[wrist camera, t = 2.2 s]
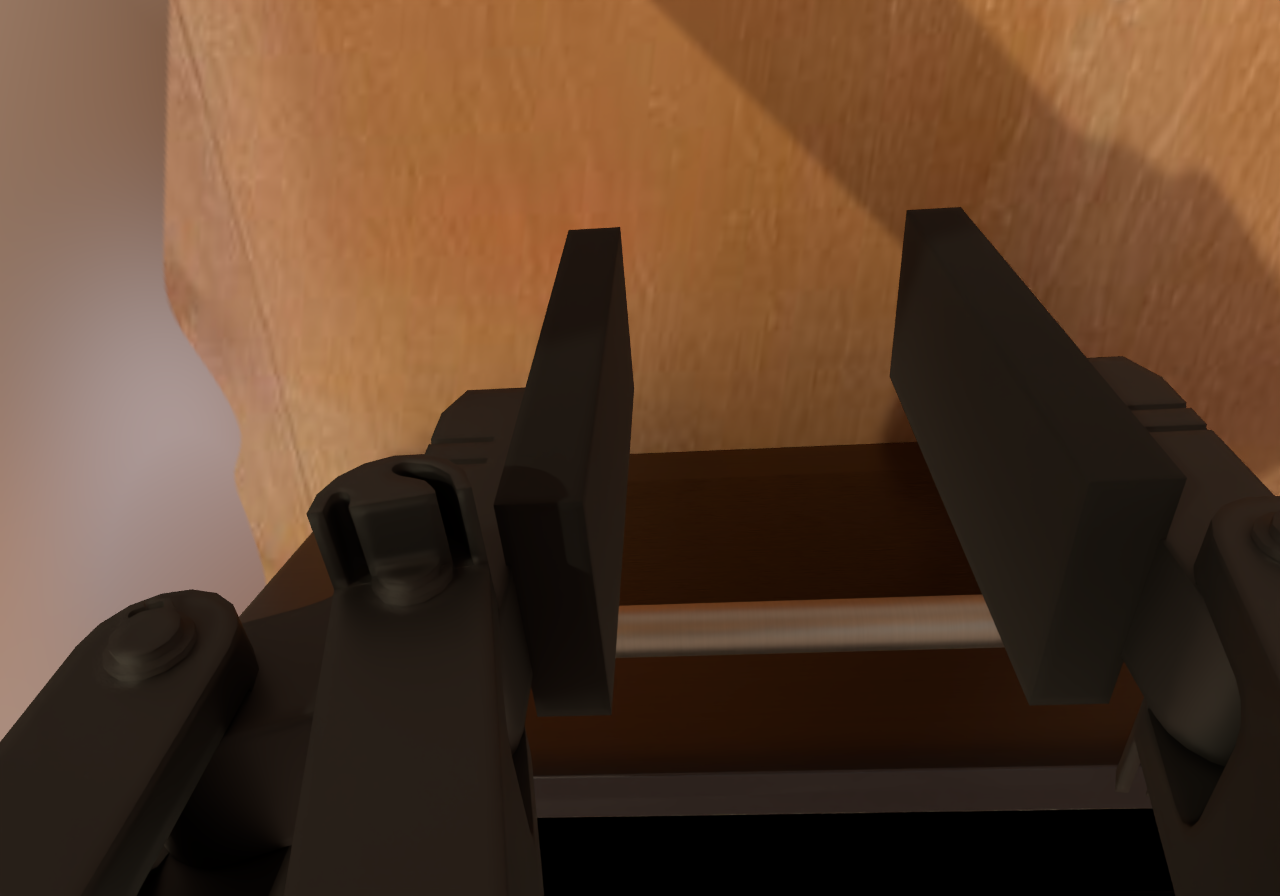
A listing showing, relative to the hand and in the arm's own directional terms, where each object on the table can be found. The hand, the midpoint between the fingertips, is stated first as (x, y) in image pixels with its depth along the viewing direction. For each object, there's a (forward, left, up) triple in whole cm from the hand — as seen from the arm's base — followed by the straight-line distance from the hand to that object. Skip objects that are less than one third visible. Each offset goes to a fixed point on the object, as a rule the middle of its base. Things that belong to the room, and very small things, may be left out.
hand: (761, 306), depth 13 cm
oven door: (+21, 0, -29) cm, 36 cm away
